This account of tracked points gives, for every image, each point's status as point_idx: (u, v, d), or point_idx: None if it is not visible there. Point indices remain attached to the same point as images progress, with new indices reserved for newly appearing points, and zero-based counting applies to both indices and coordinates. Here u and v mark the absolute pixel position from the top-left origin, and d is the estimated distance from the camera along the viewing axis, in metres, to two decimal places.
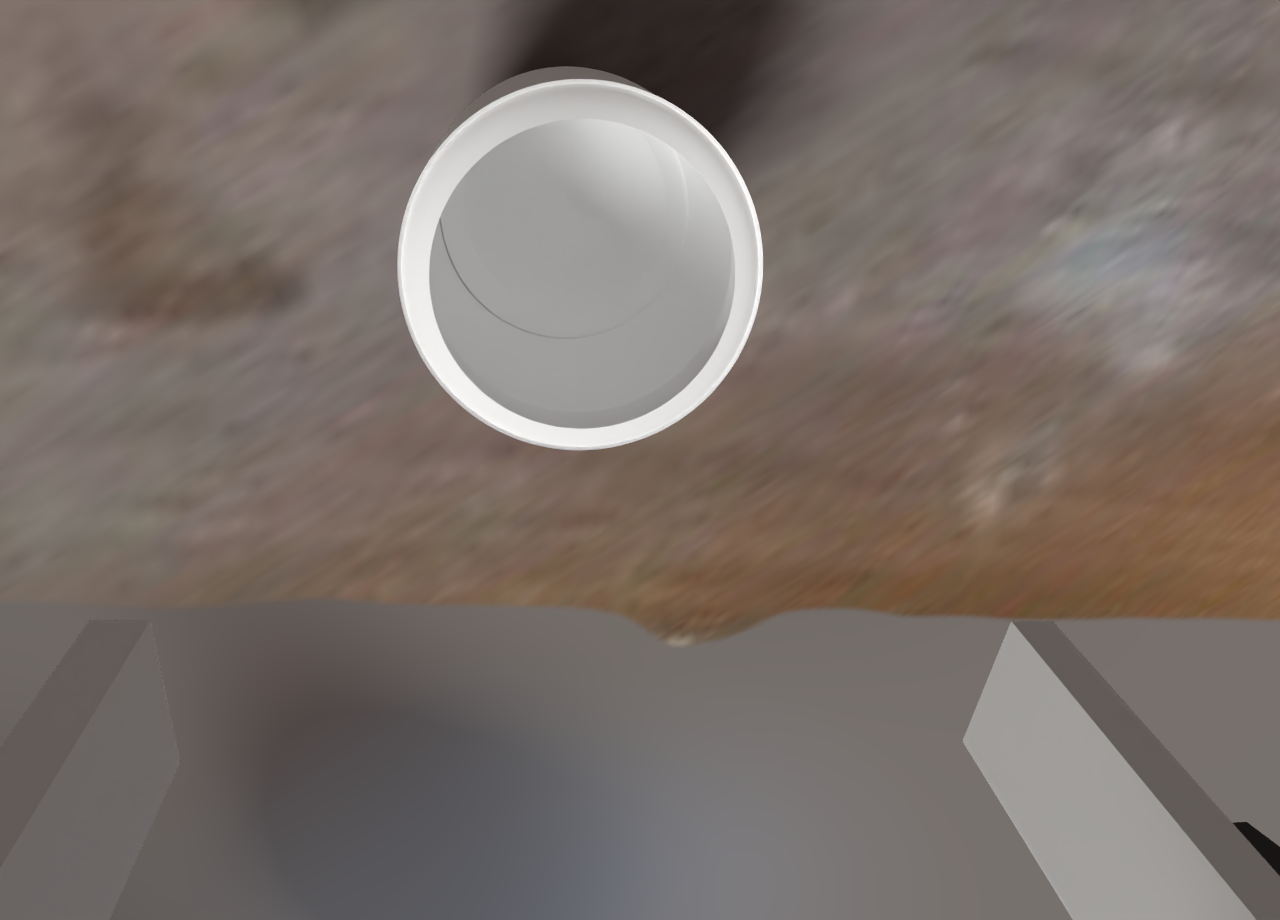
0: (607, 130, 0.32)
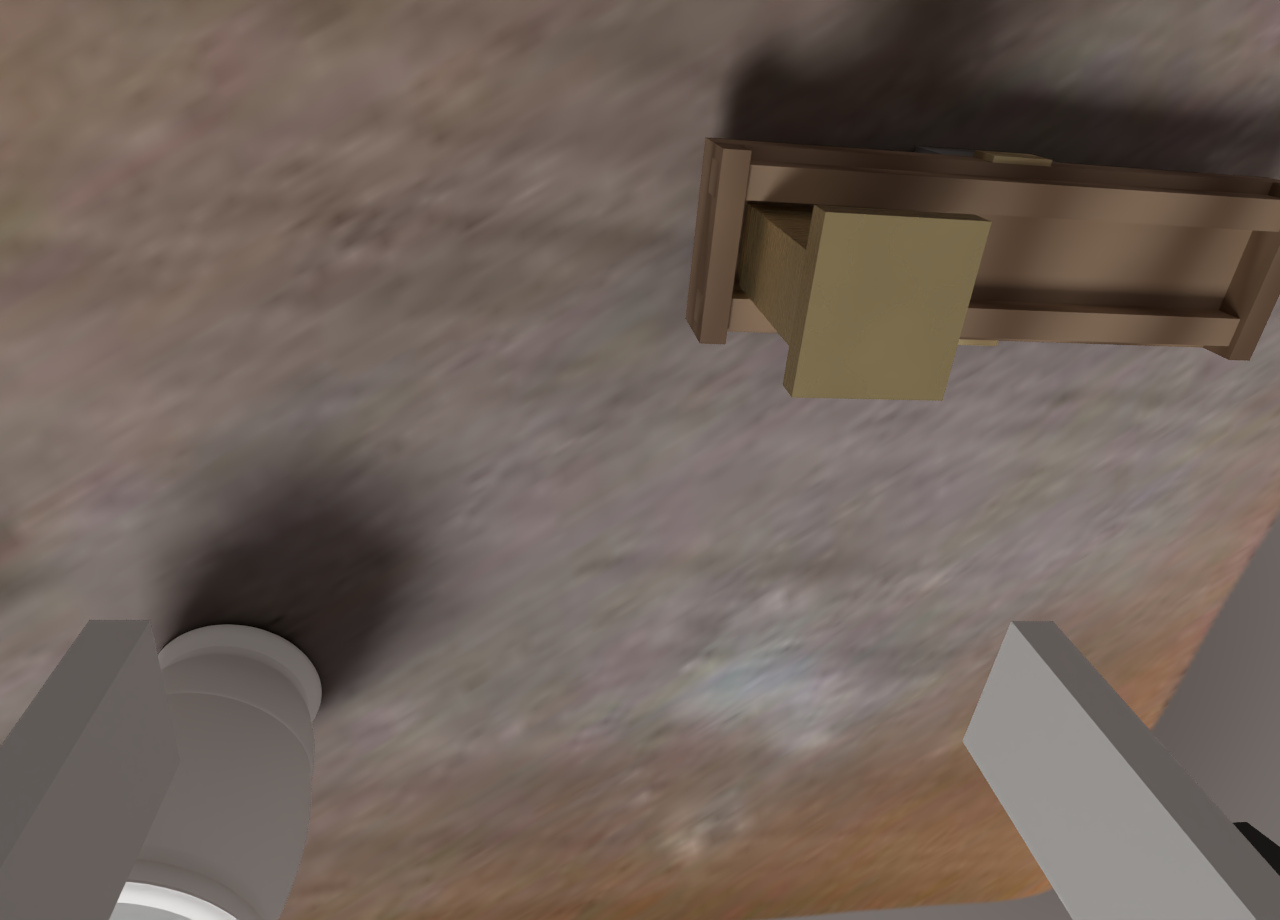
0: None
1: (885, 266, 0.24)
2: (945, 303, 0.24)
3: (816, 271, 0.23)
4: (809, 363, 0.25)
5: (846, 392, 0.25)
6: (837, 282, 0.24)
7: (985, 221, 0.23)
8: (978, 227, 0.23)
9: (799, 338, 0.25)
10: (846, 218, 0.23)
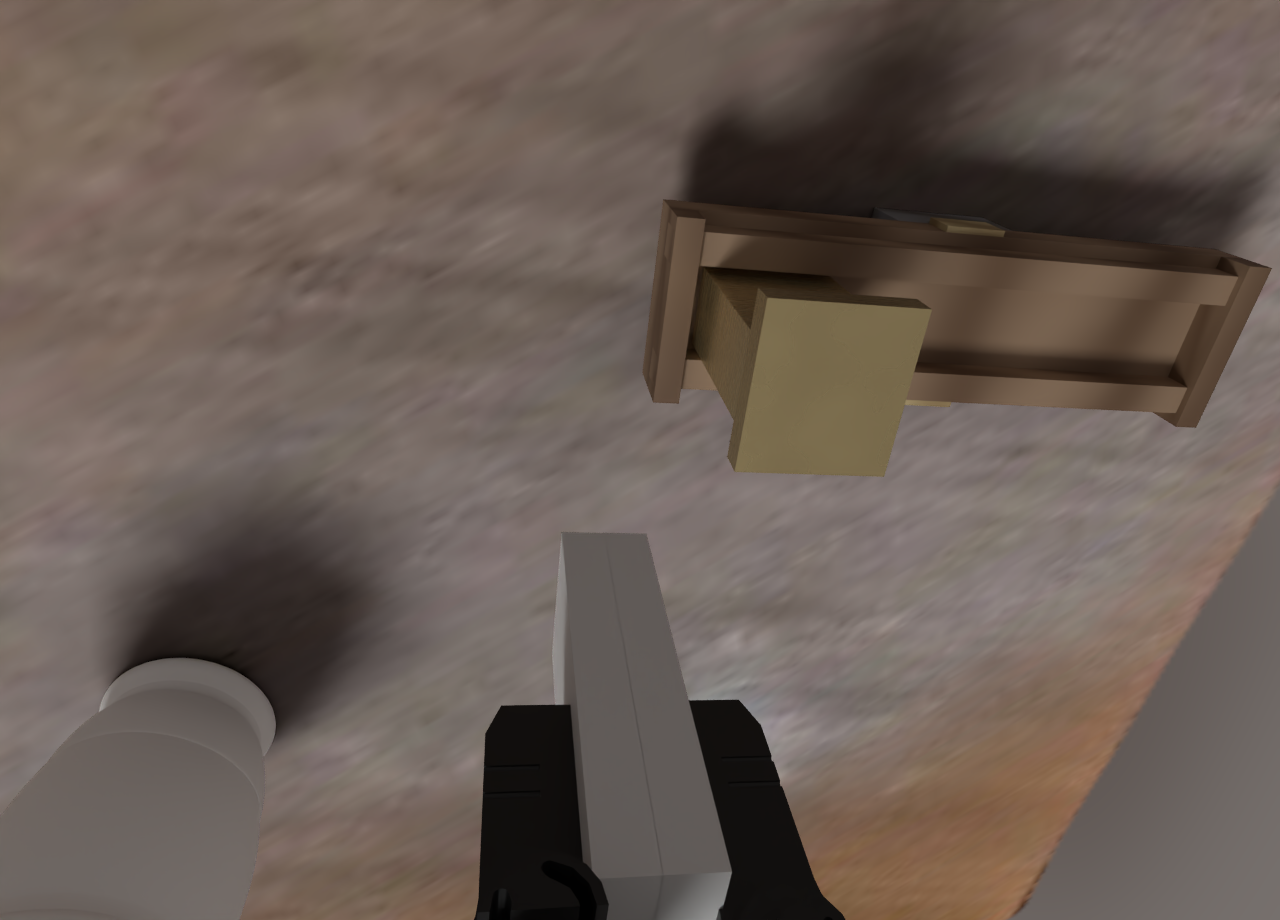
0: None
1: (826, 349, 0.24)
2: (886, 385, 0.25)
3: (758, 353, 0.24)
4: (751, 440, 0.25)
5: (788, 467, 0.26)
6: (779, 363, 0.24)
7: (925, 309, 0.24)
8: (919, 314, 0.24)
9: (742, 415, 0.25)
10: (788, 304, 0.23)
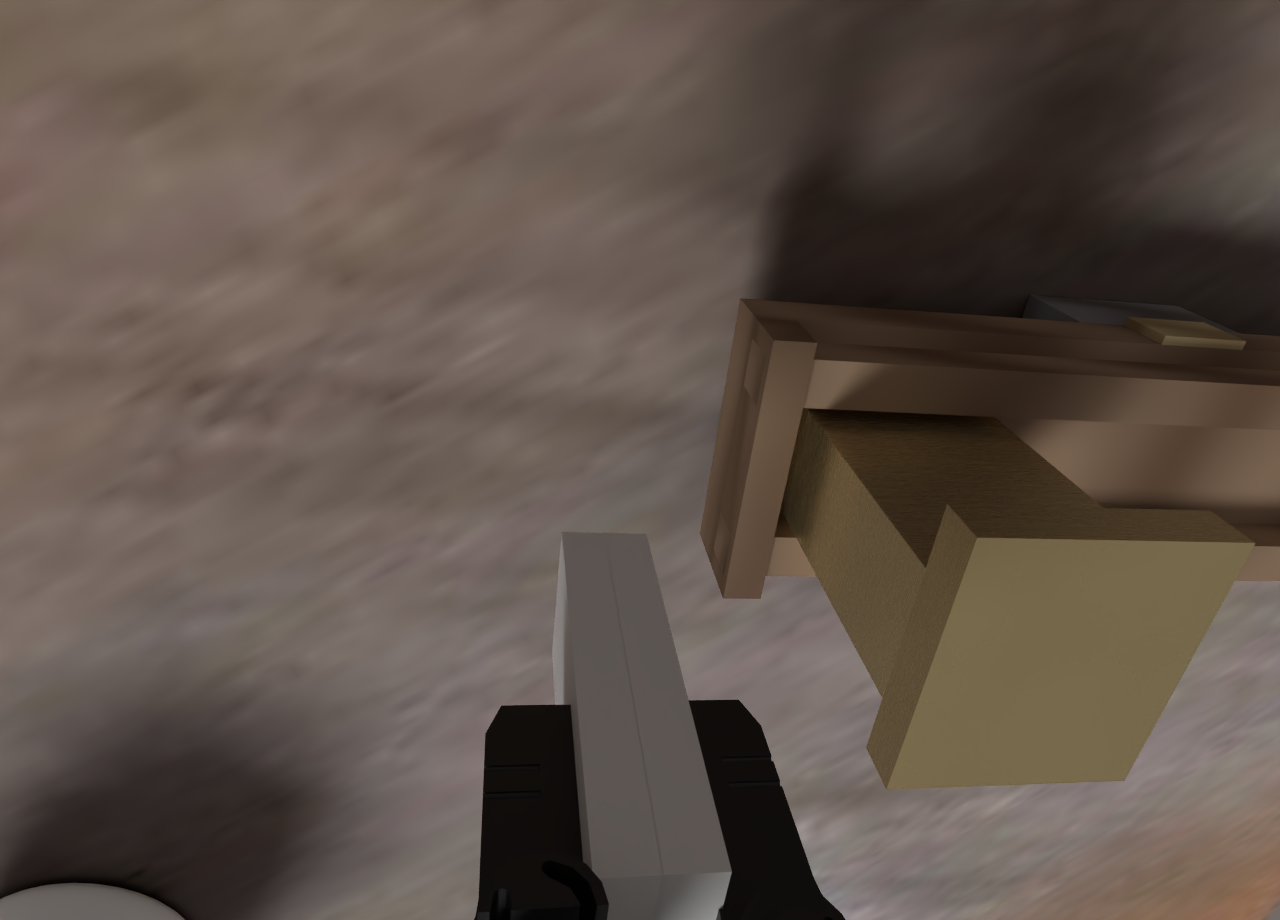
0: None
1: (1066, 610, 0.14)
2: (1155, 657, 0.14)
3: (949, 622, 0.13)
4: (920, 745, 0.15)
5: (974, 779, 0.15)
6: (983, 635, 0.14)
7: (1245, 542, 0.13)
8: (1231, 551, 0.13)
9: (906, 706, 0.15)
10: (1011, 545, 0.13)
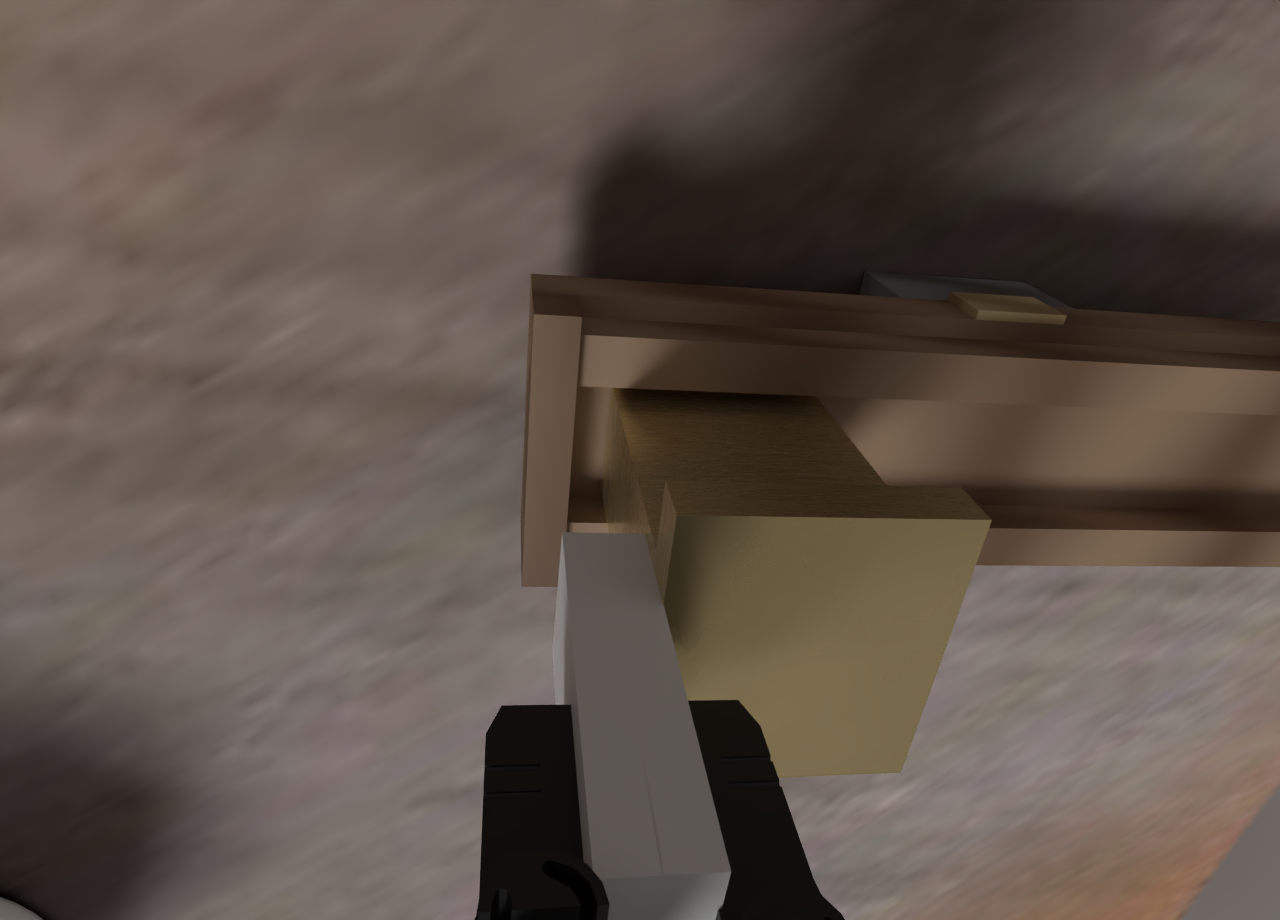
0: None
1: (795, 593, 0.13)
2: (906, 642, 0.14)
3: (666, 606, 0.13)
4: None
5: None
6: (707, 620, 0.13)
7: (980, 519, 0.13)
8: (967, 529, 0.13)
9: None
10: (718, 523, 0.12)
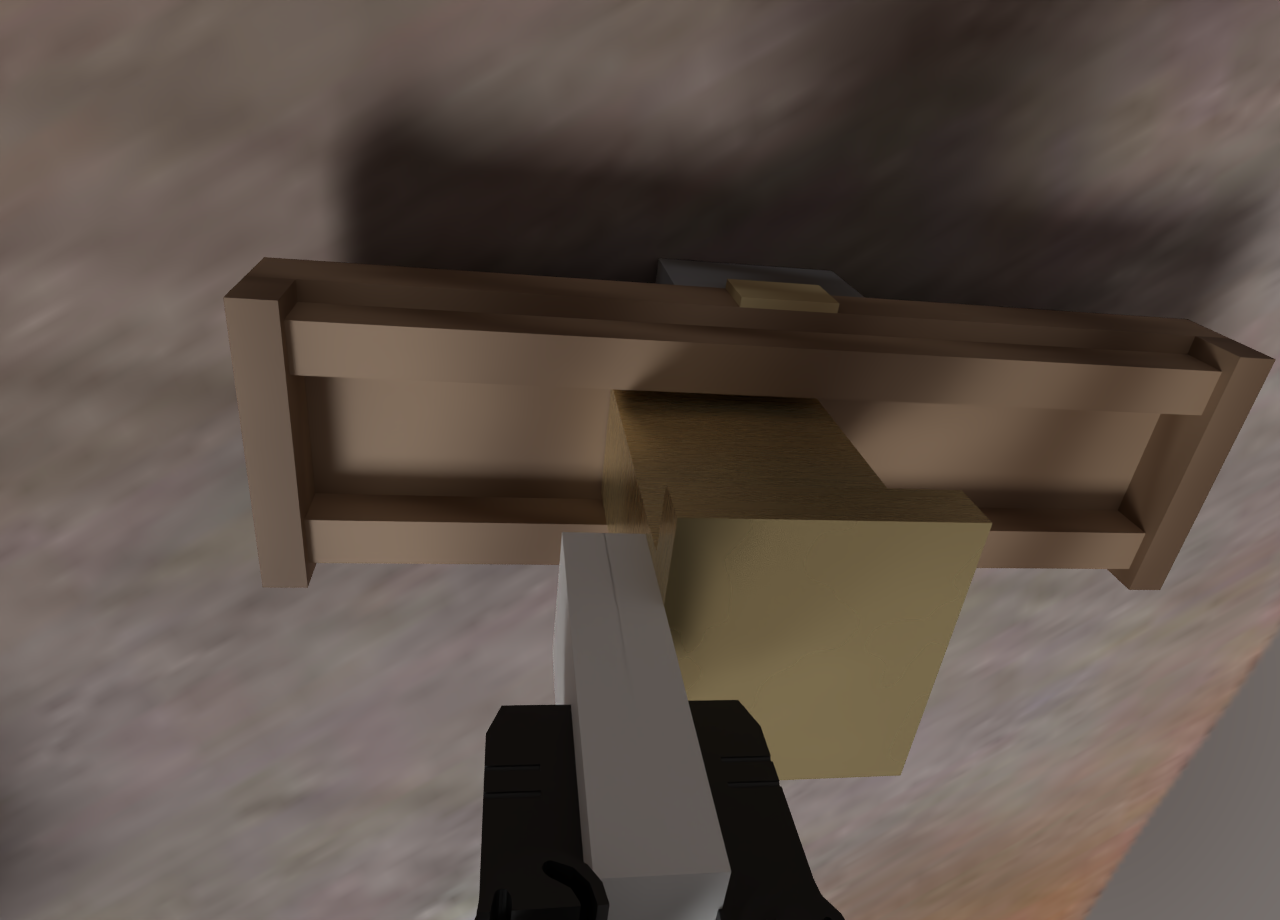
0: None
1: (795, 596, 0.13)
2: (906, 645, 0.14)
3: (667, 608, 0.13)
4: None
5: None
6: (708, 623, 0.13)
7: (981, 522, 0.13)
8: (967, 532, 0.13)
9: None
10: (718, 526, 0.12)
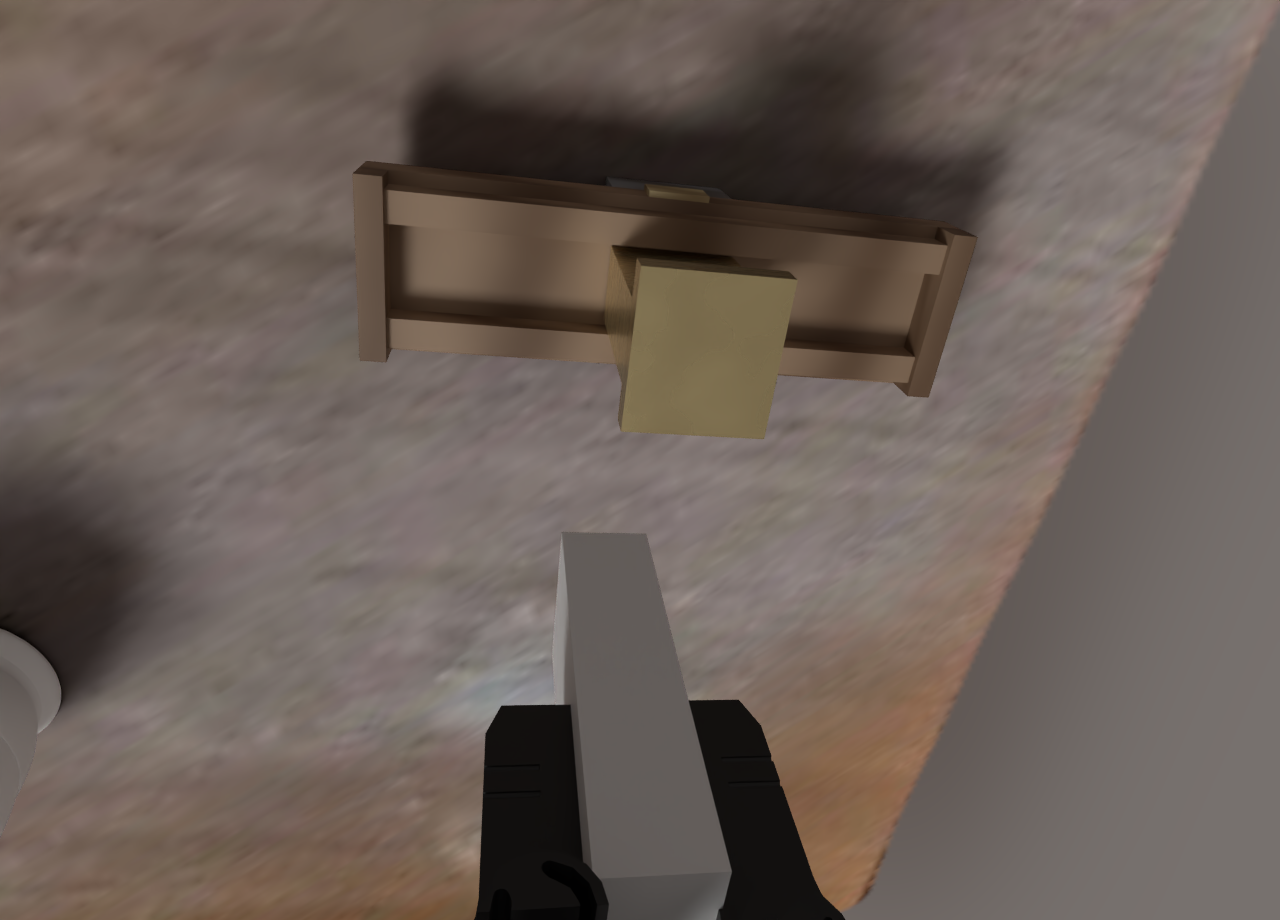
0: None
1: (700, 316, 0.26)
2: (760, 351, 0.27)
3: (636, 318, 0.26)
4: (635, 401, 0.27)
5: (671, 428, 0.28)
6: (657, 329, 0.26)
7: (792, 279, 0.26)
8: (785, 284, 0.26)
9: (626, 378, 0.27)
10: (661, 272, 0.25)
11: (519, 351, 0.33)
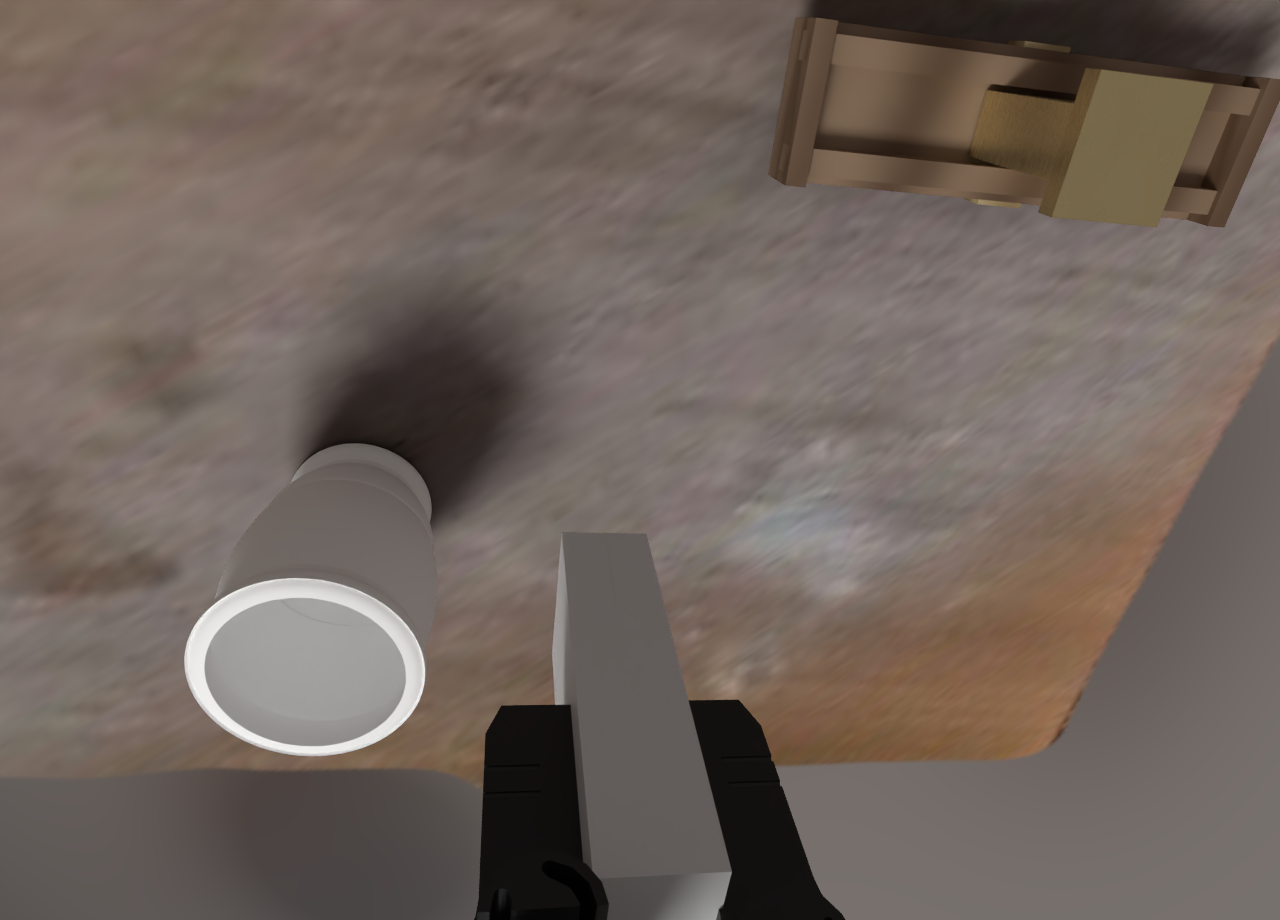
0: None
1: (1134, 114, 0.32)
2: (1171, 147, 0.33)
3: (1086, 116, 0.32)
4: (1068, 190, 0.34)
5: (1089, 215, 0.34)
6: (1100, 125, 0.32)
7: None
8: (1203, 88, 0.32)
9: (1063, 170, 0.33)
10: (1114, 75, 0.32)
11: (907, 180, 0.39)
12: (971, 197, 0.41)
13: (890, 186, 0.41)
